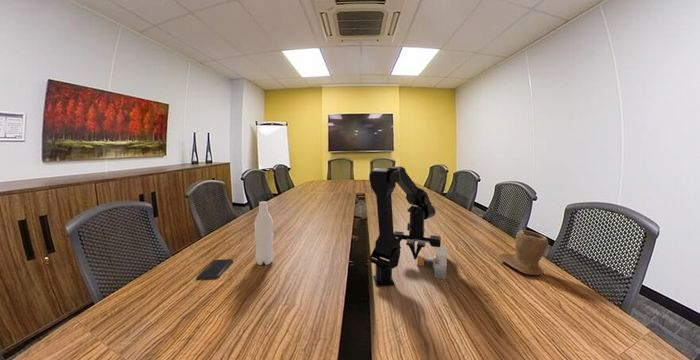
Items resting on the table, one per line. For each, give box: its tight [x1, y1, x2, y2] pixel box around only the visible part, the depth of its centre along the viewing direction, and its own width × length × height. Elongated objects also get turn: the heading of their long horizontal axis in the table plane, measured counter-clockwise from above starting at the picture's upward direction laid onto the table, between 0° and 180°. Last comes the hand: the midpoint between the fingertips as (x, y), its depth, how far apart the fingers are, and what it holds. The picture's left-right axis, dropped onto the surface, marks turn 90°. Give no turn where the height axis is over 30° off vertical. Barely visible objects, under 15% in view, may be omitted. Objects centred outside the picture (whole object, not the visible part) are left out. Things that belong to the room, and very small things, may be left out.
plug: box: [416, 254, 436, 269], centre depth 103 cm, size 10×4×4 cm, turn 70°
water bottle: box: [253, 200, 275, 266], centre depth 104 cm, size 7×7×25 cm
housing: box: [433, 245, 448, 280], centre depth 102 cm, size 4×20×5 cm, turn 159°
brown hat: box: [497, 229, 549, 276], centre depth 101 cm, size 15×12×15 cm
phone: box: [196, 258, 234, 280], centre depth 99 cm, size 8×1×15 cm
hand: (415, 259), depth 106 cm, fingers closed
